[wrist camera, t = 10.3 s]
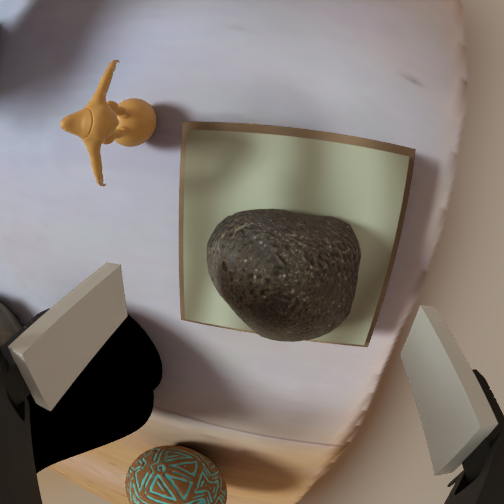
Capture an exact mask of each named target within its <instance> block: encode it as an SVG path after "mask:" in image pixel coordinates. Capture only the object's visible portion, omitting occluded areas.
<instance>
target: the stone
mask: <svg viewBox="0 0 504 504" xmlns="http://www.w3.org/2000/svg"><path fill="white" fill-rule="evenodd" d="M360 259H361V249H360V245H359V242H358V239H357V237H356V235H355V233H354V231H353V229H352V227H351V225H350V224H348V223H346V222H344V221H342V220H340V219H337V218H335V217H331V216H319V215H310V214H302V213H295V212H291V211H287V210H283V209H254V210H246V211H241V212H236V213H235V214H233V215H231V216H227V217H226V218H225V219H224V220H222V221H221V222H220V223H219V224H218V225H217V226H216V228H215V229H214V231H213V233H212V234H211V236H210V238H209V241H208V243H207V266H208V272H209V276H210V278H211V280H212V282H213V284H214V286H215V288H216V290H217V291H218V293H219V295H220V296H221V297H222V298H223V299H224V300H225V302H226V303H227V304H228V305H229V306H230V308H231V309H232V310H233V311H234V312H235V314H236V315H237V316H238V317H239V318H240V319H241V320H242V321H243V322H244V323H245V324H246V325H247V326H249V327H250V328H251V329H252V330H253V331H254V332H256V333H257V334H259V335H260V336H262V337H265V338H268V339H271V340H277V341H292V342H294V341H302V340H311V339H315V338H318V337H321V336H323V335H325V334H328V333H330V332H331V331H333V330H334V329H335V328H337V327H338V326H340V325H341V323H342V322H343V321H344V320H345V319H346V318H347V317H348V315H349V314H350V311H351V307H352V303H353V300H354V297H355V291H356V286H357V282H358V271H359V266H360Z"/></svg>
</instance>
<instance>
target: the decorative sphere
mask: <svg viewBox="0 0 504 504" xmlns="http://www.w3.org/2000/svg"><path fill="white" fill-rule="evenodd" d="M125 484H126V493H127V497H128V500H129V502H130V504H226V501H227V489H226V483H225V480H224V479H223V475H222V474H221V472H220V470H219V469H218V468H217V466H215V464H214V463H213V462H212V461H211V460H210V459H208V458H207V457H206V456H204V455H202V454H201V453H198V452H197V451H195V450H192V449H190V448H186V447H182V446H160V447H156V448H153V449H150V450H148V451H146V452H144V453H143V454H141V455H140V456H139V457H138V458H137V459H136V460H135V461H134V462H133V463H132V465H131V466H130V468H129V470H128V473H127V476H126V482H125Z"/></svg>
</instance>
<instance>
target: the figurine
mask: <svg viewBox="0 0 504 504" xmlns="http://www.w3.org/2000/svg"><path fill="white" fill-rule="evenodd" d="M117 62H119V60H114V61H112V62H111V63H110V64H109V65H108V68H107V69H106V71H105V73H104V75H103V77H102V79H101V81H100V83H99V85H98V88H97V90H96V92H95V94H94V95H93V97H92V99H91V100H90V102H89V103H88V104H87V105H86V106H85V108H83V109H82V110H80V111H78V112H76V113H73V114H71V115H68V116H66V117H65V118H64V119H63V120H62V121H61V127H62V129H63V130H65V131H67V132H69V133H72V134H75V135H77V136H79V137H80V138H82V140H83V142H84V143H85V145H86V147H87V150H88V152H89V155H90V159H91V165H92V169H93V172H94V175H95V178H96V182H97V183H98V184H99V185H100V186H105V185H106V184H103V174H102V163H101V155H100V147H101V144H102V143H103V144H110V143H112V142H113V141H114V140H115V141H116V142H117V143H119V144H121V145H123V146H128V147H132V146H137V145H140V144H142V143H144V142H146V141H147V140H148V139H149V138H150V137H151V136H152V134H153V132H154V130H155V127H156V121H157V120H156V114H155V111H154V109H153V108H152V106H151V105H150V104H149V103H147V102H146V101H144V100H141V99H128V100H125V101H123V102H121V103H119V104H117V103H116V102H113V101H108V102H106V93H107V91H108V88H109V85H110V82H111V79H112V75H113V72H114V70H115V67H116V63H117Z"/></svg>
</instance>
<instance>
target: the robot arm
mask: <svg viewBox="0 0 504 504" xmlns="http://www.w3.org/2000/svg"><path fill="white" fill-rule="evenodd" d="M127 316H128V315H127V308H126V301H125V294H124V287H123V279H122V271H121V265H119V264H114V263H108V262H107V263H106V264H104V265H103V266H102V267H101V268H99V269H98V270H97V271H96V272H94V273H93V274H92V275H90V276H89V277H88V278H87V279H85V280H84V281H83V282H82V283H80V284H79V285H78V286H77V287H76V288H74V289H73V290H72V291H71V292H69V293H68V294H67V295H66V296H65V297H63V298H62V299H61V300H60V301H59V302H57V303H56V304H55V305H54V306H53V307H52V308H50V309H47V310H45V311H43V312H41V313H38V314H37V315H36V316H35V317H34V318H33V319H31V320H30V322H28V323H27V324H26V325H25V326H24V328H21V329H20V330H19V331H18V332H17V333H16V334H14V335H13V336H12V337H11V338H10V339H9V340H8V341H7V342H6V343H5V344H4V345H2V346H0V504H42V500H41V496H40V491H39V486H38V480H37V475H36V469H35V462H34V455H33V447H32V438H31V427H30V411H29V402H28V400H27V397H28V395H29V394H30V393H31V395H32V396H33V398H34V400H35V402H36V404H38V405H40V406H42V407H44V408H45V409H47V410H49V411H52V409H53V408H54V407H55V405H56V404H57V403H58V401H59V400H60V399H61V397H62V396H63V395H64V393H65V392H66V391H67V390H68V388H69V387H70V386H71V384H72V383H73V382H74V381H75V379H76V378H77V377H78V376H79V374H80V373H81V372H82V371H83V369H84V368H85V367H86V366H87V364H88V363H89V362H90V361H91V359H92V358H93V357H94V356H95V354H96V353H97V352H98V351H99V350H100V348H101V347H102V346H103V345H104V343H105V342H106V341H107V340H108V339H109V337H110V336H111V335H112V334H113V333H114V331H115V330H116V329H117V328H118V327H119V325H120V324H121V323H122V322H123V321H124V320H125V318H126V317H127ZM400 356H401V358H402V361H403V364H404V367H405V370H406V373H407V376H408V379H409V382H410V385H411V388H412V391H413V395H414V398H415V401H416V405H417V408H418V411H419V415H420V418H421V422H422V425H423V429H424V432H425V436H426V440H427V444H428V448H429V452H430V456H431V461H432V464H433V469H434V474H435V475H441V474H446V473H451V472H453V471H454V470H455V469H456V468H457V467H458V466H460V464H461V463H462V465H463V468H464V470H463V471H462V472H461V473H460V474H459V475H458V476H457V477H456V478H454V479H453V480H452V481H451V482H450V483H449V484H448V487H450V486H451V485H453V484H454V483H455V485H454V487H453V488H452V490H451V492H450V494H449V496H448V498H447V500H446V501H445V503H444V504H504V415H503V413H502V411H501V409H500V407H499V405H498V403H497V401H496V399H495V398H494V395H493V393H492V391H491V390H490V387H489V385H488V383H487V382H486V380H485V378H484V377H483V376H482V375H481V374H480V373H479V372H478V371H477V370H472V369H471V367H470V365H469V363H468V361H467V360H466V358H465V356H464V354H463V352H462V351H461V349H460V347H459V345H458V344H457V342H456V340H455V339H454V337H453V335H452V334H451V332H450V330H449V329H448V327H447V325H446V324H445V322H444V320H443V319H442V317H441V316H440V314H439V312H438V311H437V309H436V308H435V307H434V306H423V305H420V307H419V310H418V313H417V315H416V318H415V320H414V323H413V326H412V328H411V331H410V333H409V335H408V338H407V340H406V343H405V345H404V347H403V350H402V352H401V354H400Z"/></svg>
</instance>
